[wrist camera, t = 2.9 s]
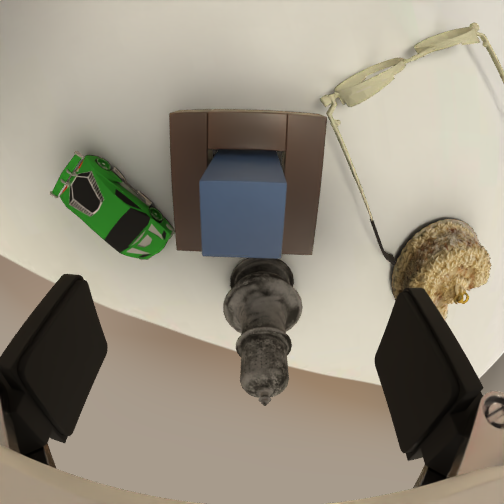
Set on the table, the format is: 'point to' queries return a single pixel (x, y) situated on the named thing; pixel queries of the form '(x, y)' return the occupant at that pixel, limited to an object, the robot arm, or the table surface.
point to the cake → (442, 263)
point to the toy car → (112, 207)
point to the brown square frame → (248, 138)
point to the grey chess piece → (263, 323)
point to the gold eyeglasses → (360, 91)
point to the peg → (243, 204)
